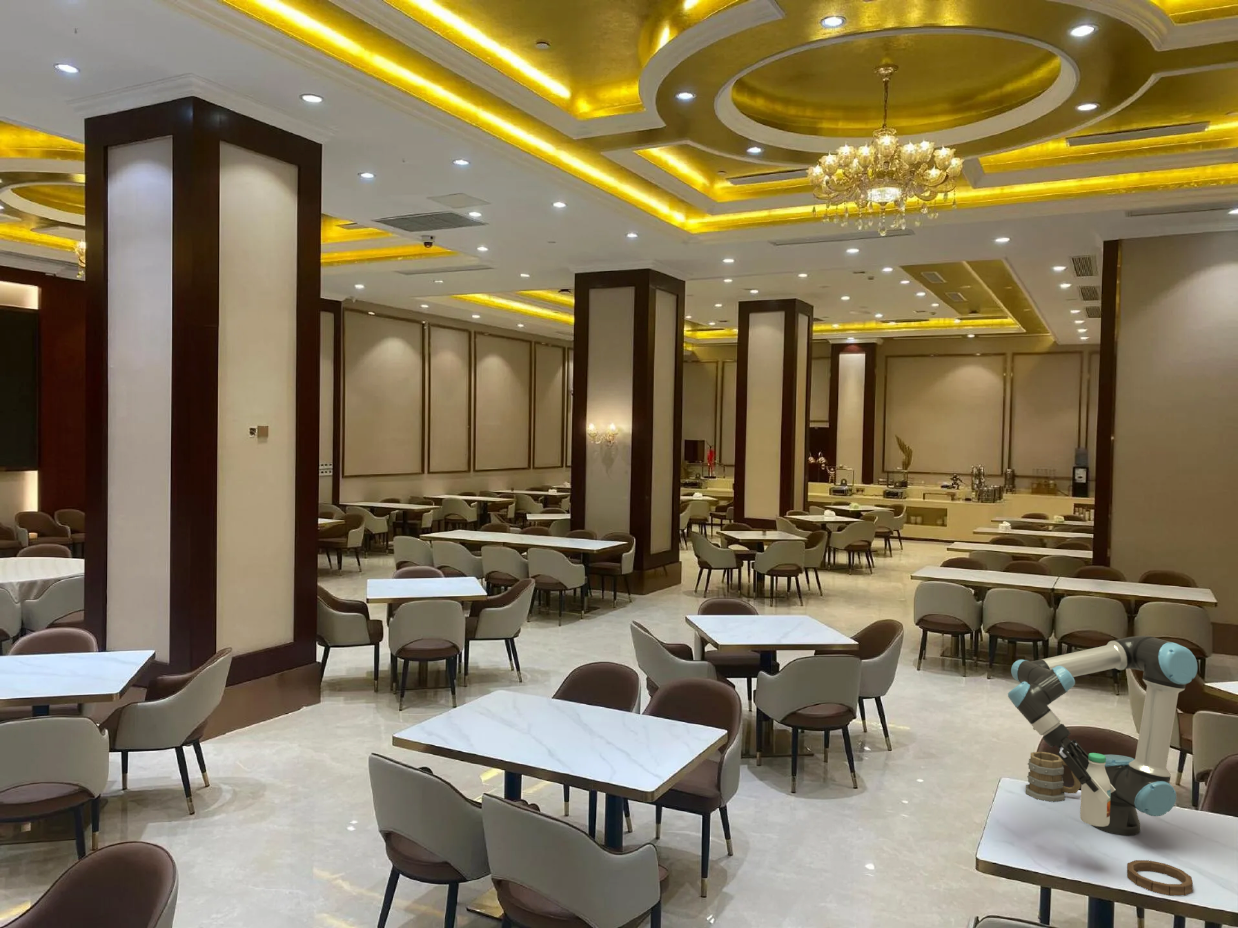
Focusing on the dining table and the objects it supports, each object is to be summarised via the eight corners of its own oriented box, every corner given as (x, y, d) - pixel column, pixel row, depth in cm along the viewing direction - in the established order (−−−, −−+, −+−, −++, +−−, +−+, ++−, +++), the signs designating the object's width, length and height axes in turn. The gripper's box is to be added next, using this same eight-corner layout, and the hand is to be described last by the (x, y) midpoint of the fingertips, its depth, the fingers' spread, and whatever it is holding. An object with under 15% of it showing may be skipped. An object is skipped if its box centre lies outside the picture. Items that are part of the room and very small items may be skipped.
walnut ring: (1126, 863, 269) (1126, 855, 269) (1189, 876, 261) (1189, 868, 261) (1127, 885, 255) (1128, 877, 255) (1194, 900, 247) (1194, 891, 247)
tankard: (1025, 797, 319) (1027, 755, 319) (1025, 785, 331) (1026, 745, 331) (1088, 808, 311) (1090, 765, 311) (1086, 795, 323) (1087, 754, 322)
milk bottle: (1101, 829, 260) (1104, 761, 259) (1075, 819, 266) (1077, 753, 265) (1114, 823, 264) (1116, 756, 264) (1088, 814, 270) (1090, 748, 270)
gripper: (1050, 728, 282) (1105, 792, 272) (1032, 744, 267) (1090, 812, 257) (1069, 715, 279) (1126, 780, 269) (1052, 730, 263) (1112, 799, 253)
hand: (1108, 796), depth 263 cm, fingers closed on milk bottle, 7 cm apart
